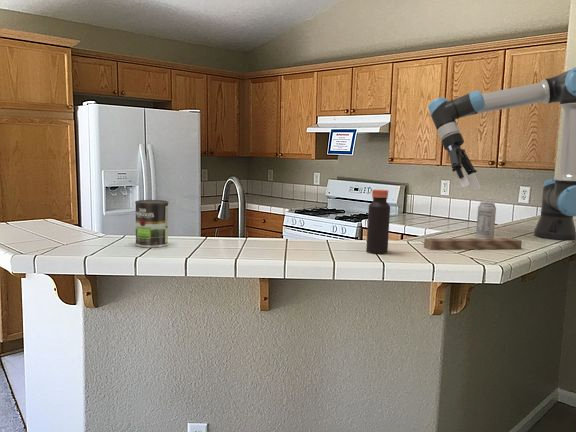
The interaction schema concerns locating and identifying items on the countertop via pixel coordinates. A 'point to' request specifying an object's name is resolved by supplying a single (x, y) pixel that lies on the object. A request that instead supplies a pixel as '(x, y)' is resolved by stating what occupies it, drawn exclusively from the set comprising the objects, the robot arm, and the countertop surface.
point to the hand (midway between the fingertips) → (472, 188)
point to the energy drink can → (486, 220)
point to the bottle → (378, 223)
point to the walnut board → (471, 243)
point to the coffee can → (151, 223)
